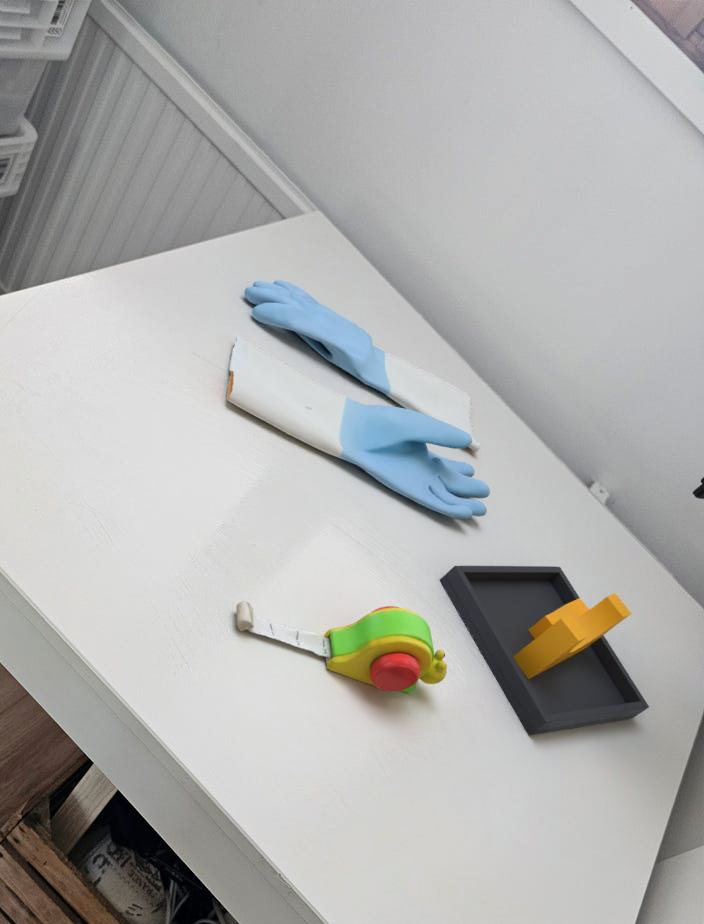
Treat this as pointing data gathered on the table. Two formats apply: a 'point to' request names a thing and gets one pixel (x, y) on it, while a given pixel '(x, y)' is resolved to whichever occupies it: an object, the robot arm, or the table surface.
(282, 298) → the rubber gloves
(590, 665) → the dark grey tray
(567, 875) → the table surface
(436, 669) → the toy measuring tape
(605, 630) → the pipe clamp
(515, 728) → the table surface
